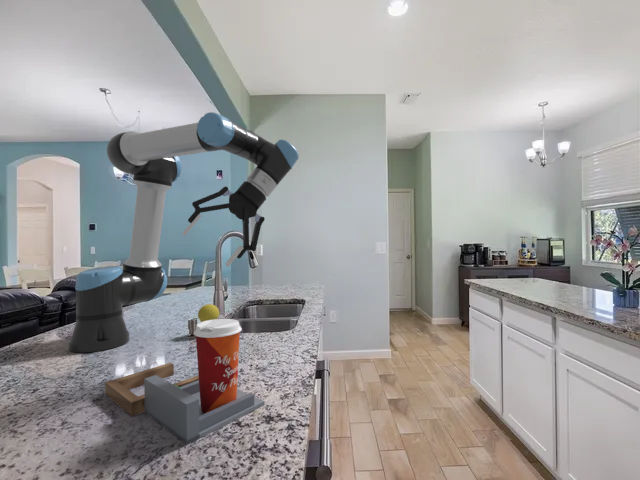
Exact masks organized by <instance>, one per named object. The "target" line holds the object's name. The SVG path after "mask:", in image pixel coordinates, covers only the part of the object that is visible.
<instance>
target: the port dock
mask: <svg viewBox="0 0 640 480" xmlns="http://www.w3.org/2000/svg"><path fill="white" fill-rule="evenodd" d="M173 384H174V383H171V382H169V381H167V380H165V379H164V378H160V377H158V376H157V375H154V376H151V377H148V378H145V379H144V385H143V388H144V394H143V395H145V412H144V414H146V415H147V416H149V417H150V418H151V419H153V420H154V421H155V422H156V423H158V424H159V425H160V426H162V427H163V428H164V427H165V430H167V429H168V430H169V431H168V430H167V431H168V432H169V433H171V434H172V433H173V435H174V436H175V437H176V438H177V437H178V439H179V440H180V441H181V440H182V441H181V442H183V443H184V444H185V445H188V446H189V444H192V443H194V442H195V441H198V440H199V439H202V438H204V437H205V436H207V435H209V434H211V433H213V432H214V431H216V430H218V429H221V428H222V427H224V426H226V425H228V424H230V423H232V422H234V421H236V420H237V419H239V418H241V417H243V416H245V415H248V414H249V413H252V412H253V411H255V410H257V409H259V408H260V407H263V406H264V405H266V404H265V403H266V402H265V400H263V399H261V398H258V397H256V396H255V394H253V393H251V392H249V393H248V392H245V391H243V390H241V389H239V388H237V397H236V400H234V401H231V402H229V403H227V404H225V405H223V406H221V407H218V408H216V409H214V410H212V411H210V412H208V413H206V414H204V413H203V412H202V410H201V402H200V389H199V380H198V381H195V382H192V383H190V384H187V385H184V386H182V387H178V386H176V385H173Z"/></svg>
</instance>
